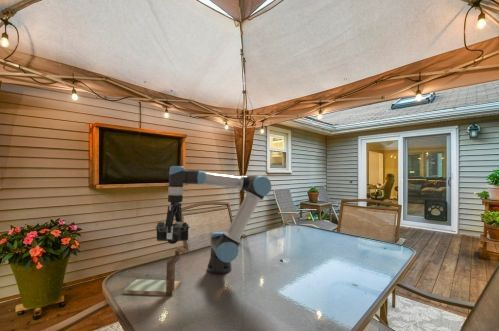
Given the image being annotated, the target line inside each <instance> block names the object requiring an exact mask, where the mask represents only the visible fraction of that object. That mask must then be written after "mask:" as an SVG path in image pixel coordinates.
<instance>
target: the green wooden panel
mask: <svg viewBox="0 0 499 331" xmlns="http://www.w3.org/2000/svg"><path fill="white" fill-rule="evenodd" d="M180 258H181V250H180V249H175V250H174V256H173V257H172V258H171V259H169V260H168V261H167V262H166V280H165V279H141V278H140V279H137V278H136V279H135V280H133V282H132V283H130V284H129V285H128V286H127V287H125V288H124V289H123V294H125V295H144V296H145V295H146V296H168V297H169V296H170V297H171V296H172V297H173V296H174V295H175V294H176V292H177V291H178V290H179V288H180V287H181V286H182V281H181V280H175V278H176V277H175V276H176V274H175V273H176V263H177V262H178V261H179V260H180Z"/></svg>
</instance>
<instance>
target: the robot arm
mask: <svg viewBox="0 0 499 331" xmlns="http://www.w3.org/2000/svg"><path fill="white" fill-rule="evenodd" d="M184 185H206V186H215V187H224V188H234V189H238V190H239V191H244V192H245V197H244V198H243V200H242V202H241V204H240V206H239V208H238V210H237V211H236V214H235V215H234V218H233V219H232V221H231V223H230V225H229V226H228V228H227V230H226V231H214V232H212V233H210V257H209V260H208V262H207V266H206V267H207V268H206V269H207V272H208V273H211V274H216V275H221V274H227V273H230V271H232V263H231V262H233V261H234V260H236V258H237V257H238V255H239V246H240V244H241V236H242V234H243V233H244V231H245V229H246V227H247V226H248V223H249V221H250V219H251V217H252V216H253V215H254V214H253V213H254V212H255V210H256V207H257V206H258V204H259V203H260V202H262V201H263V200H264V198H265V196H267V195H269V194H270V192H271V191H272V183H271V181H270V178H268V177H267V176H264V175H240V176H237V175H236V176H235V175H229V174H220V173H213V172H206V171H204V170H193V169H191V170H189V169H185V166H181V165H171V166H170V167H169V175H168V188H167V190H168V195H167V196H168V197H167V203H170V204H169V205H168V206H167V211H166V212H167V213H166V218H165V223H164V224H165V226H167V239H172V235H173V226H172V224H179V223H180V224H181V222H182V221H183V220H182V218H183V217H182V216H183V215H182V202H183V199H184V198H183V194H184ZM174 220H175V221H174Z"/></svg>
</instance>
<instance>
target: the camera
mask: <svg viewBox="0 0 499 331" xmlns="http://www.w3.org/2000/svg"><path fill="white" fill-rule="evenodd" d="M165 224H166V223H165V222H164V221H160V222H157V225H156V227H155V230H156V241H157V242H167V243H168V244H171V245H174V244H176V243H178V242H185V241H188V240H189V229H190V226H189V224H188V223H187V222H186V221H185V222H183V223H181V222H180V223H179V224H175V223H173V224H172V226H173V235H172V239H167V226H165Z"/></svg>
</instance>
